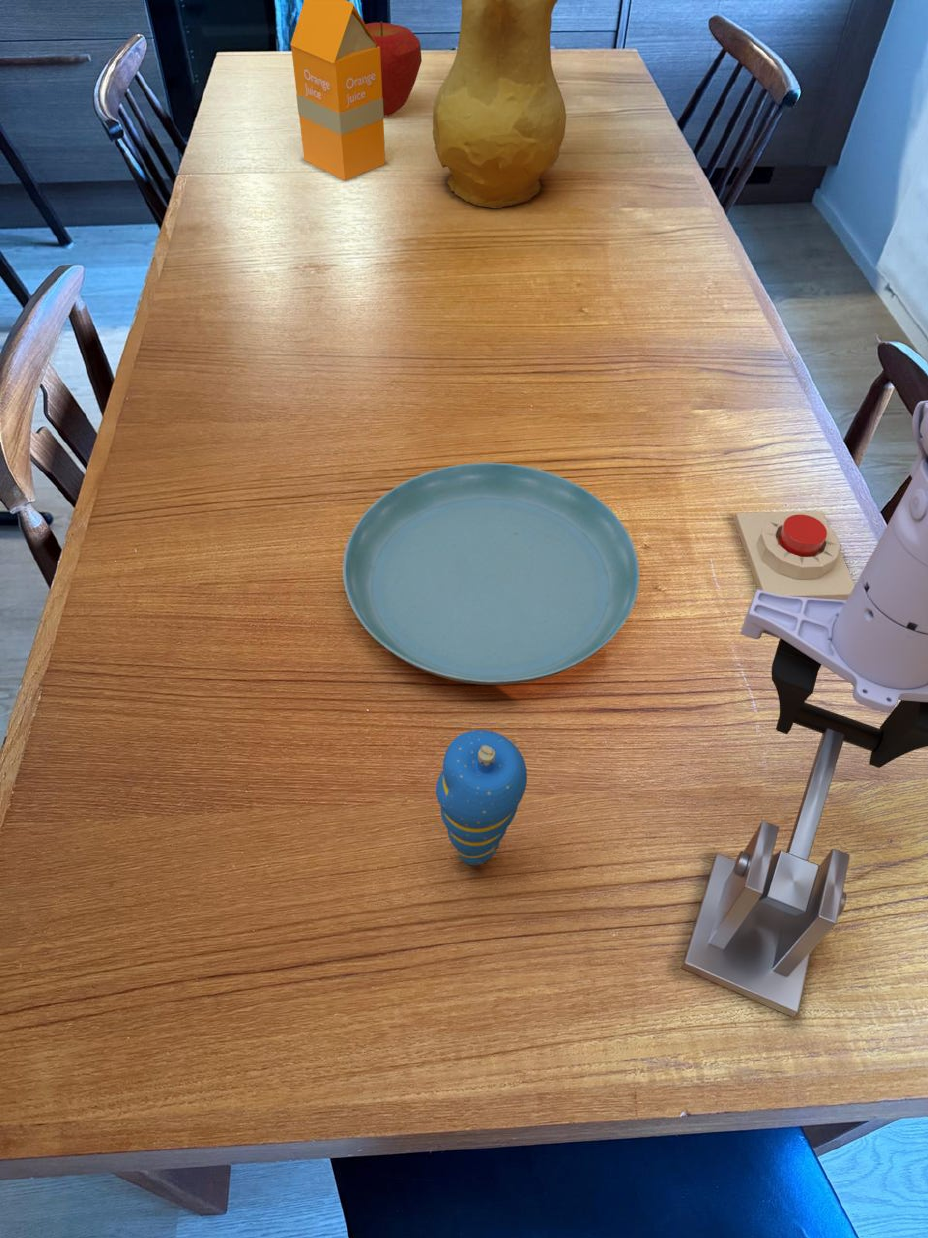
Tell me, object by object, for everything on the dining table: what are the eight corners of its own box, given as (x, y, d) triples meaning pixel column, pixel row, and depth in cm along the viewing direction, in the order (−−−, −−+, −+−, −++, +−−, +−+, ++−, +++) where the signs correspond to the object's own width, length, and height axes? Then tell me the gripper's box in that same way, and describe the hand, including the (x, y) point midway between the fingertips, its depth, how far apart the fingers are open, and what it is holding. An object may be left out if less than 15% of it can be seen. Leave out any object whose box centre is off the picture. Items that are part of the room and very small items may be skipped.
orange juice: (345, 143, 129) (331, -21, 114) (386, 163, 125) (378, -4, 110) (302, 160, 126) (283, -8, 110) (344, 181, 122) (330, 11, 106)
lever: (793, 706, 56) (802, 694, 54) (875, 735, 55) (888, 724, 53) (734, 891, 52) (741, 886, 50) (820, 926, 51) (831, 924, 49)
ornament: (452, 816, 62) (455, 693, 51) (523, 840, 61) (543, 720, 50) (425, 883, 59) (422, 769, 47) (500, 910, 58) (515, 799, 46)
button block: (855, 601, 75) (866, 581, 74) (762, 603, 75) (770, 583, 73) (819, 517, 82) (828, 497, 80) (733, 519, 81) (740, 499, 79)
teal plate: (426, 459, 86) (426, 431, 83) (669, 540, 80) (676, 513, 77) (290, 637, 72) (284, 610, 69) (571, 752, 66) (576, 727, 63)
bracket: (713, 858, 61) (752, 788, 53) (817, 901, 59) (873, 834, 51) (681, 968, 56) (718, 908, 48) (793, 1018, 54) (850, 963, 47)
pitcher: (402, 184, 121) (408, -40, 102) (490, 147, 131) (510, -63, 112) (500, 231, 114) (526, 1, 95) (585, 189, 124) (623, -27, 105)
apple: (436, 110, 137) (435, 20, 128) (386, 132, 132) (382, 39, 123) (384, 90, 142) (380, 1, 132) (334, 110, 136) (327, 19, 127)
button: (826, 556, 76) (832, 543, 75) (784, 557, 76) (790, 544, 74) (813, 526, 78) (819, 513, 77) (773, 527, 78) (778, 514, 77)
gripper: (758, 598, 44) (697, 743, 54) (1077, 704, 40) (946, 837, 51) (788, 508, 48) (725, 659, 59) (1080, 596, 44) (958, 741, 55)
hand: (829, 736), depth 55 cm, fingers closed on lever, 5 cm apart
